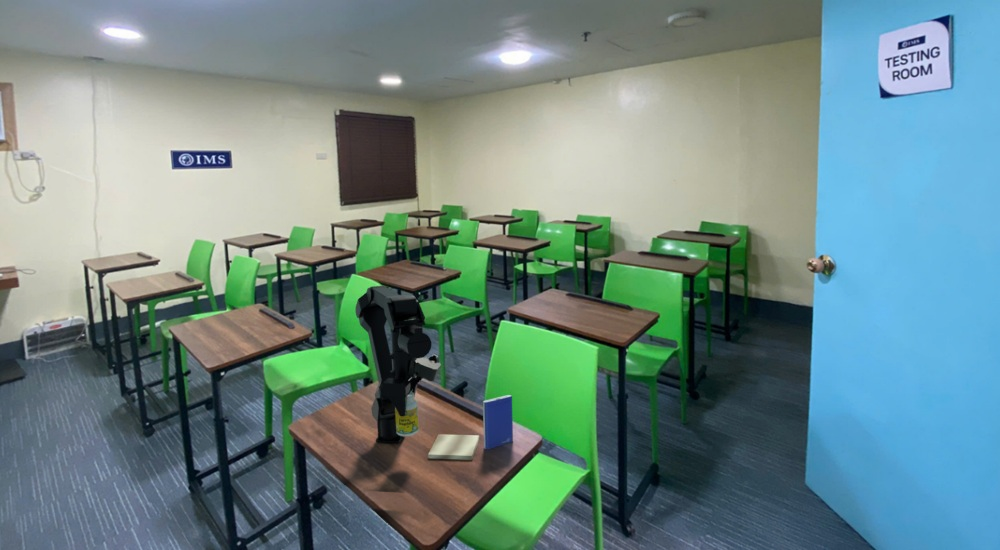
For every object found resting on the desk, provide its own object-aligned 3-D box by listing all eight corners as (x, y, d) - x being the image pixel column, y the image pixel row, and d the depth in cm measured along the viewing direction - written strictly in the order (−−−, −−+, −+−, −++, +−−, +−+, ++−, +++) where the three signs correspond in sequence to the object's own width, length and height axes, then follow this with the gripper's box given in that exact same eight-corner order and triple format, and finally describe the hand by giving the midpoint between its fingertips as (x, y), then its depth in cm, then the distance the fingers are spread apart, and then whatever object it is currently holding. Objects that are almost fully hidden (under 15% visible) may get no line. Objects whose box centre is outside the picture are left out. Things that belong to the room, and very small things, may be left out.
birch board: (428, 460, 116) (428, 454, 116) (439, 439, 127) (438, 434, 127) (472, 462, 115) (472, 455, 115) (479, 441, 126) (479, 435, 125)
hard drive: (513, 441, 124) (512, 396, 122) (486, 450, 120) (485, 403, 118) (510, 439, 125) (509, 394, 124) (483, 447, 121) (482, 401, 120)
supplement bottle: (418, 426, 118) (416, 389, 116) (419, 435, 112) (417, 396, 111) (396, 428, 116) (394, 391, 115) (396, 438, 111) (394, 399, 110)
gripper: (425, 360, 102) (428, 429, 104) (446, 339, 120) (448, 398, 122) (376, 359, 103) (379, 427, 105) (404, 338, 122) (406, 396, 123)
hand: (406, 411), depth 114 cm, fingers closed on supplement bottle, 5 cm apart
